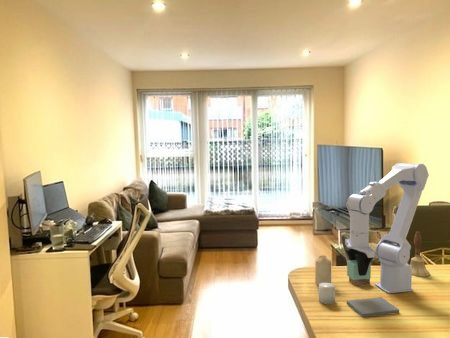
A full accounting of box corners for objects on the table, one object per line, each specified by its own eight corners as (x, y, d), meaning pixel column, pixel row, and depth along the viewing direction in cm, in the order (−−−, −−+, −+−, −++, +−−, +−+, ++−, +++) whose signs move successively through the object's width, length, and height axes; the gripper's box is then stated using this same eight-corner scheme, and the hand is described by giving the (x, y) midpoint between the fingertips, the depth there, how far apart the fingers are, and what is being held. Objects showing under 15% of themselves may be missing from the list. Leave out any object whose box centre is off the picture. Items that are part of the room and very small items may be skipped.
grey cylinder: (330, 296, 121) (330, 282, 121) (337, 303, 116) (337, 288, 116) (316, 298, 120) (316, 283, 120) (323, 304, 115) (323, 289, 115)
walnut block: (359, 279, 136) (359, 268, 135) (369, 284, 131) (370, 273, 131) (348, 281, 133) (349, 271, 133) (359, 286, 129) (359, 275, 129)
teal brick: (363, 273, 122) (363, 259, 121) (370, 278, 118) (370, 263, 117) (347, 275, 121) (347, 260, 120) (353, 279, 117) (353, 264, 116)
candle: (331, 287, 129) (332, 259, 128) (315, 286, 130) (315, 258, 129) (330, 281, 134) (330, 254, 133) (315, 280, 135) (315, 253, 134)
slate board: (381, 300, 118) (381, 297, 118) (399, 312, 109) (399, 309, 109) (346, 303, 116) (346, 300, 116) (362, 317, 107) (362, 313, 107)
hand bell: (401, 272, 141) (402, 232, 140) (410, 267, 147) (411, 228, 145) (425, 278, 135) (426, 236, 134) (433, 272, 141) (434, 231, 139)
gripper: (337, 226, 124) (336, 265, 126) (360, 238, 110) (359, 282, 111) (356, 225, 126) (355, 264, 127) (381, 236, 111) (380, 280, 113)
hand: (358, 272), depth 119 cm, fingers closed on teal brick, 4 cm apart
